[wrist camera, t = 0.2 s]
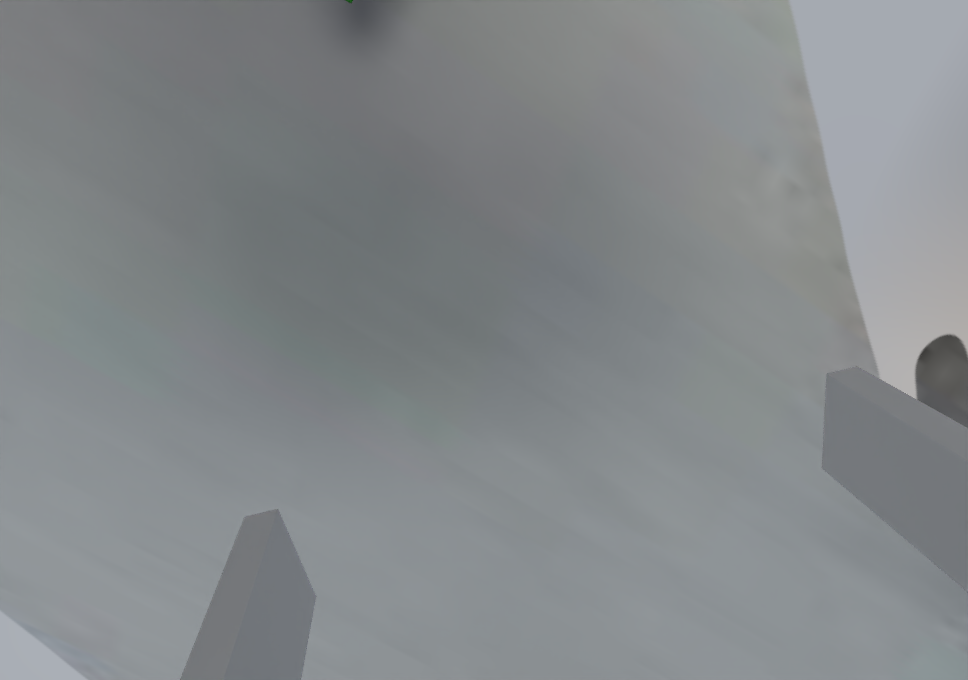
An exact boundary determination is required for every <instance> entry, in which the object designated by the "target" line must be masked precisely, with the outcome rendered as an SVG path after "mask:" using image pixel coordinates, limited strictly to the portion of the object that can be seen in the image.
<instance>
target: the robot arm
mask: <svg viewBox="0 0 968 680" xmlns="http://www.w3.org/2000/svg"><path fill="white" fill-rule="evenodd" d="M822 469H823V470H825V471H826V472H827V473H828V474H829V475H830V476H832V477H833V478H834V479H835V480H836V481H837V482H839V483H840V484H841V485H842V486H843V487H844V488H846V489H847V490H848V491H849V492H850V493H852V494H853V495H854V496H855V497H856V498H857V499H859V500H860V501H861V502H862V503H863V504H864V505H866V506H867V507H868V508H869V509H870V510H871V511H873V512H874V513H875V514H876V515H877V516H879V517H880V518H881V519H882V520H883V521H884V522H886V523H887V524H888V525H889V526H890V527H891V528H893V529H894V530H895V531H896V532H897V533H898V534H900V535H901V536H902V537H903V538H904V539H906V540H907V541H908V542H909V543H910V544H911V545H913V546H914V547H915V548H916V549H917V550H918V551H920V552H921V553H922V554H923V555H924V556H925V557H927V558H928V559H929V560H930V561H931V562H933V563H934V564H935V565H936V566H937V567H938V568H940V569H941V570H942V571H943V572H944V573H945V574H947V575H948V576H949V577H950V578H951V579H952V580H954V581H955V582H956V583H957V584H958V585H960V586H961V587H962V588H963V589H964V590H965V591H967V592H968V428H966V427H965V426H963V425H961V424H959V423H957V422H956V421H954V420H952V419H950V418H949V417H947V416H945V415H943V414H941V413H940V412H938V411H936V410H934V409H932V408H931V407H929V406H927V405H925V404H924V403H922V402H920V401H918V400H916V399H915V398H913V397H911V396H909V395H907V394H906V393H904V392H902V391H900V390H898V389H897V388H895V387H893V386H891V385H890V384H888V383H886V382H884V381H882V380H881V379H879V378H877V377H875V376H874V375H872V374H870V373H868V372H866V371H865V370H863V369H861V368H859V367H857V366H856V367H852V368H848V369H844V370H839V371H835V372H831V373H827V374H826V392H825V412H824V432H823V453H822ZM315 600H316V595H315V593H314V590H313V588H312V586H311V584H310V581H309V579H308V577H307V574H306V572H305V570H304V567H303V565H302V563H301V560H300V558H299V556H298V553H297V551H296V549H295V547H294V544H293V542H292V540H291V537H290V535H289V533H288V530H287V528H286V526H285V523H284V521H283V519H282V517H281V514H280V512H279V510H278V509H275V510H271V511H267V512H263V513H259V514H255V515H250V516H246V517H244V520H243V522H242V525H241V527H240V530H239V532H238V535H237V537H236V540H235V542H234V545H233V547H232V550H231V552H230V555H229V558H228V560H227V563H226V565H225V568H224V570H223V573H222V575H221V578H220V580H219V583H218V585H217V588H216V590H215V593H214V595H213V598H212V600H211V603H210V605H209V608H208V610H207V613H206V615H205V618H204V621H203V623H202V626H201V628H200V631H199V633H198V636H197V638H196V641H195V643H194V646H193V648H192V651H191V653H190V656H189V658H188V661H187V663H186V666H185V668H184V671H183V673H182V676H181V679H180V680H301V676H302V671H303V665H304V660H305V654H306V649H307V644H308V638H309V633H310V627H311V622H312V616H313V611H314V605H315Z"/></svg>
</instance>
